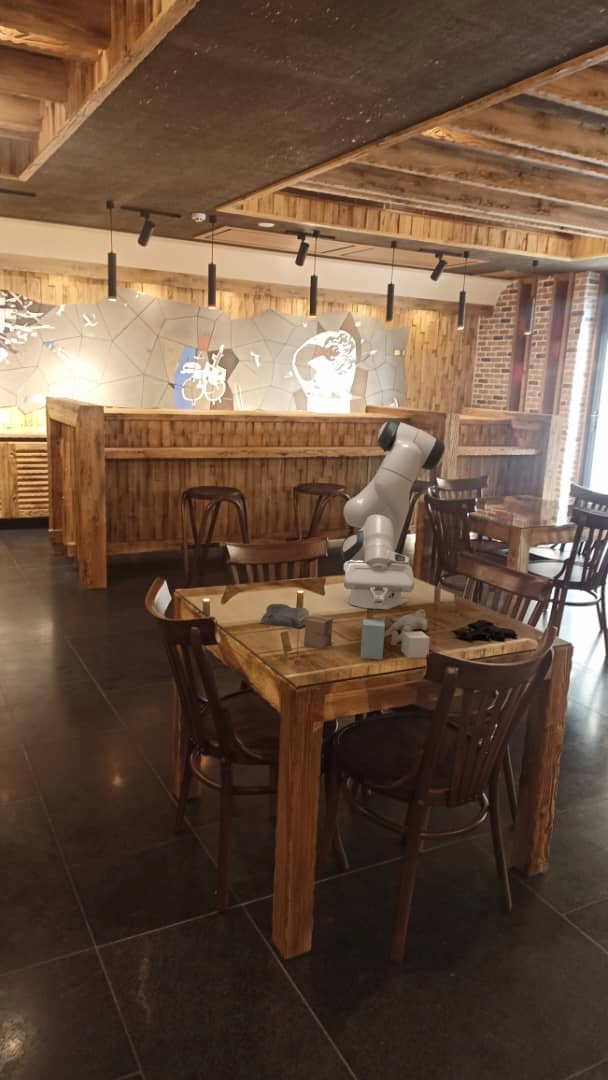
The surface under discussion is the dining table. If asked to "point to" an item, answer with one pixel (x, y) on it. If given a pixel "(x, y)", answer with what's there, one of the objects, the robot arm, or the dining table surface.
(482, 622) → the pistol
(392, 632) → the figurine
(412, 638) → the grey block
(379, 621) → the teal block
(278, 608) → the fossil
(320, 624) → the walnut block
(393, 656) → the dining table surface
